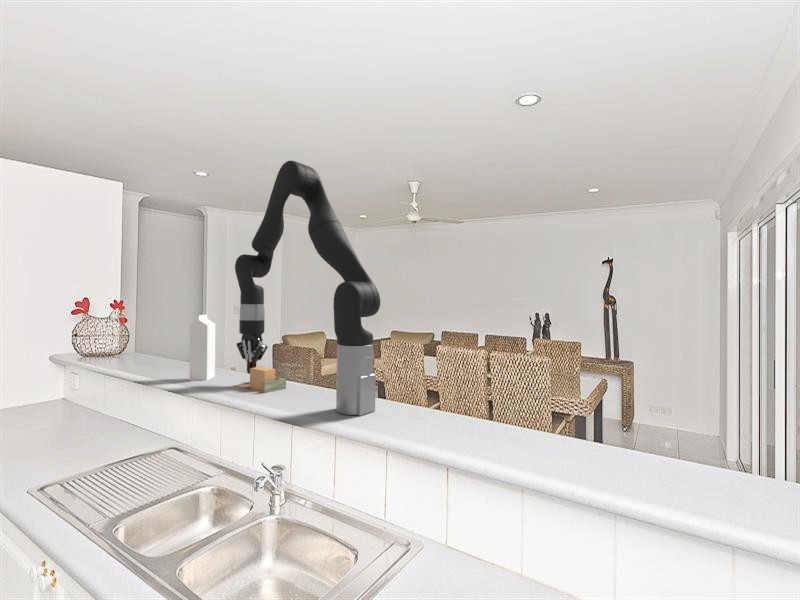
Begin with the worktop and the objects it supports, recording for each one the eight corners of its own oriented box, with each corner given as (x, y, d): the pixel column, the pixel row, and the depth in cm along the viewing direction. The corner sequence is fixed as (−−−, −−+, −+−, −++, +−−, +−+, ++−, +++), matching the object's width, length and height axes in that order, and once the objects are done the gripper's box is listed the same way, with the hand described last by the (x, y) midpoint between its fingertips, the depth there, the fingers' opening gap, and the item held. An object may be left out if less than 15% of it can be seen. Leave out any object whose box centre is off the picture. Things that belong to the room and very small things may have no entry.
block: (275, 388, 137) (275, 369, 137) (264, 390, 134) (264, 370, 134) (260, 385, 141) (260, 366, 141) (249, 387, 138) (250, 368, 138)
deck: (286, 390, 138) (286, 378, 138) (264, 394, 131) (264, 382, 131) (253, 383, 147) (253, 372, 147) (231, 387, 140) (231, 376, 140)
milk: (189, 381, 148) (189, 315, 148) (198, 377, 155) (198, 314, 154) (207, 381, 148) (207, 315, 148) (215, 378, 154) (215, 314, 154)
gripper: (275, 319, 140) (274, 374, 140) (249, 317, 147) (248, 369, 148) (255, 320, 134) (254, 377, 134) (228, 318, 141) (228, 372, 142)
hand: (251, 373), depth 141 cm, fingers closed
